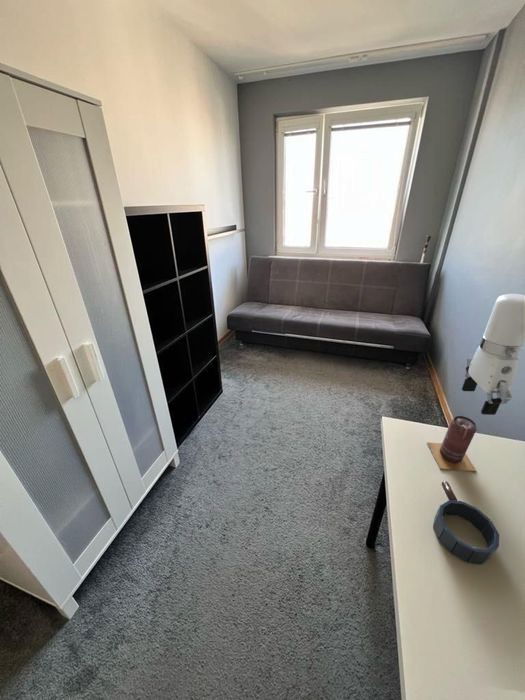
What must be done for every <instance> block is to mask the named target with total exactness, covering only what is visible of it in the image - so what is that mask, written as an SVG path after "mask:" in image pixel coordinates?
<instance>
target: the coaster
mask: <svg viewBox="0 0 525 700" xmlns="http://www.w3.org/2000/svg"><path fill="white" fill-rule="evenodd" d="M427 443H428V445H427V446H428V448H429V450H430V453H431V454H432V457H433V458H434V460H435V463H436V464H437V466H438V469H439V470H445V471H446V470H447V471H457V472H458V471H459V472H475V473H476V472H477V469H476V468H475V466H474V464H473V463H472V461H471V460H470V458H469V457H468V455H467V453H465V455H464V457H463V459H462V461H461V462H458V463H453V462H449V461H447V460H446V459H444V458H443V457H442V455H441V453H440V448H441V445H442V443H443V442H430V441H429V442H426V444H427Z"/></svg>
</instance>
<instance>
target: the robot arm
mask: <svg viewBox="0 0 525 700" xmlns="http://www.w3.org/2000/svg"><path fill="white" fill-rule="evenodd" d="M524 343H525V294H520V293H506V294H505V293H504V294H502V295H500V296H498V297H497V299H496V300H495V302H494V305H493V307H492V310H491V313H490V316H489V318H488V321H487V324H486V327H485V330H484V332H483V335H482V337H481V341H480V343H479V345H478V347H477V348H476V350H475V353H474V354H473V357H472V358H467V359H466V367H465V371H466V373H465V374H464V377H465V378H464V380H463V381H464V382H463V384H462V387H461V391H463V392H475V391H476V389H477V386H479V387H480V388H481V389H482V390H483V391H484V392H485V393H486V396H487V400H485V401H484V403H483V405H482V408H481V411H480V413H481V414H482V415H488V416H495V415H496V414H497V412H498V410H499V407H500V405H503V404H507V403H508V402H509V401H511V400H512V399H513V396H512V394H511V392H510V390H511V388H512V385H513V383H514V380H515V377H516V374H517V370H518V364H519V358H518V356H519V354H520V351H521V349H522V347H523V345H524ZM495 389H496V390H495ZM493 394H496V397H494V395H493Z"/></svg>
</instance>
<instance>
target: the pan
mask: <svg viewBox="0 0 525 700" xmlns="http://www.w3.org/2000/svg"><path fill="white" fill-rule="evenodd" d="M441 487H442V489H443V491H444V493H445V495H446V497H447V499H448V500H447V501H445V502H443V503H441V504H440V505H439V508H438V510H437V512H436V513H435V516H434V518H433V519H434V520H433V524H432V529H433V531H434V533H435V536H436V538H437V540H438V542H439V543H440V544H441V545H442V546H443V548H445V550H446V551H447V552H448V553H449V554H451V555H452V556H453V557H455V558H457V559H459V560H460V561H462V562H464V563H467V564H474V565H484V564H485V563H486V562H488V561H489V560H490V559H491V558H492V557H493V556H494V554H495V553H496V551H498V549H499V547H500V533H499V532H498V529H497V528H496V526H495V524H494V523H493V521H492V520H491V519H490V518H489V517H488V516H487V515H486V514H485V513H484V512H482V511H481V510H480V509H479V508H477V507H475V506H473V505H472V504H469V503H467V502H465V501H462V500H459V499H457V497H456V495H455V492H454V491H453V489H452V487H451V485H450V483H449V482H448V481H446V480H443V481H441ZM444 516H457V517H459V518H460V519H463V520H464V521H467V522H469V523H470V524H471V525H472V526H473V527H474V528H475V529H476V530H477V531H478V532H479V533H480V534H481V536H482V538H483V540H484V542H485V543H486V548H481V547H480V548H479V547H473V546H471V545H469V544H467V543H465V542H463V541H462V540H459V539H458V537H456V535H454V533H452V531H451V530H450V529H449V528H448V526H447V525H446V521H445V520H444Z"/></svg>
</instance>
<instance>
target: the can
mask: <svg viewBox="0 0 525 700" xmlns="http://www.w3.org/2000/svg"><path fill="white" fill-rule="evenodd" d="M476 432H477V424H476V423H475V421H474V420H473V419H471V418H470V417H467V416H463V415H456V416H454V417H452V419H450V422H449V426H448V427H447V431H446V433H445V435H444V438H443V440H442V442H441V443H442V445H441V448H440V453H441V455H442V457H443V458H444V459H446V460H447V461H449V462H453V463H458V462H461V461H462V459H463V457H464V455H465V454H467V451H468V449H469V446H470V444H471V443H472V441H473V438H474V436H475V435H476Z"/></svg>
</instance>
